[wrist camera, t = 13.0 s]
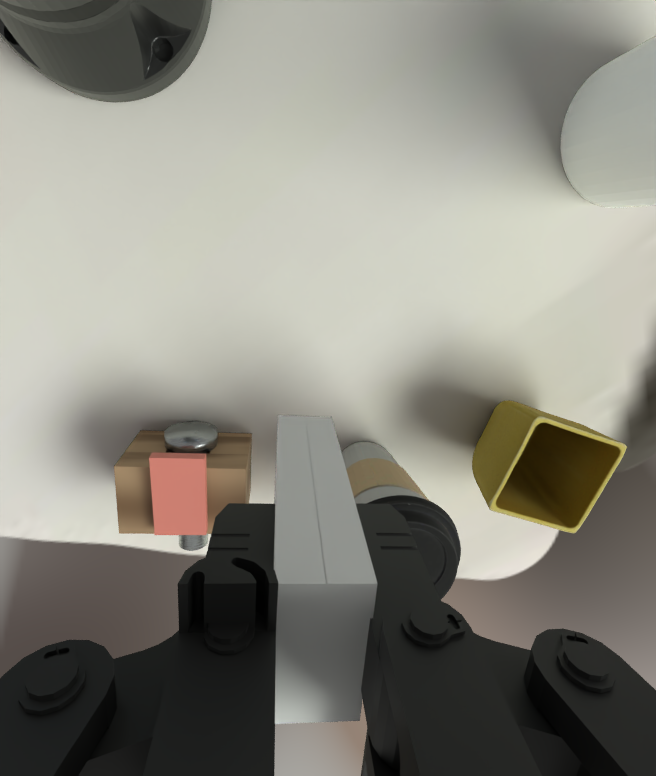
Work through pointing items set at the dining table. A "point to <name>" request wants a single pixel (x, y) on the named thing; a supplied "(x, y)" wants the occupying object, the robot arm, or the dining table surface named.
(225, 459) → the block
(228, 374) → the dining table surface
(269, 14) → the dining table surface
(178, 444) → the pin
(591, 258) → the dining table surface
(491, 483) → the flower pot
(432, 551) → the coffee cup
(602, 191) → the bottle
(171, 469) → the block
